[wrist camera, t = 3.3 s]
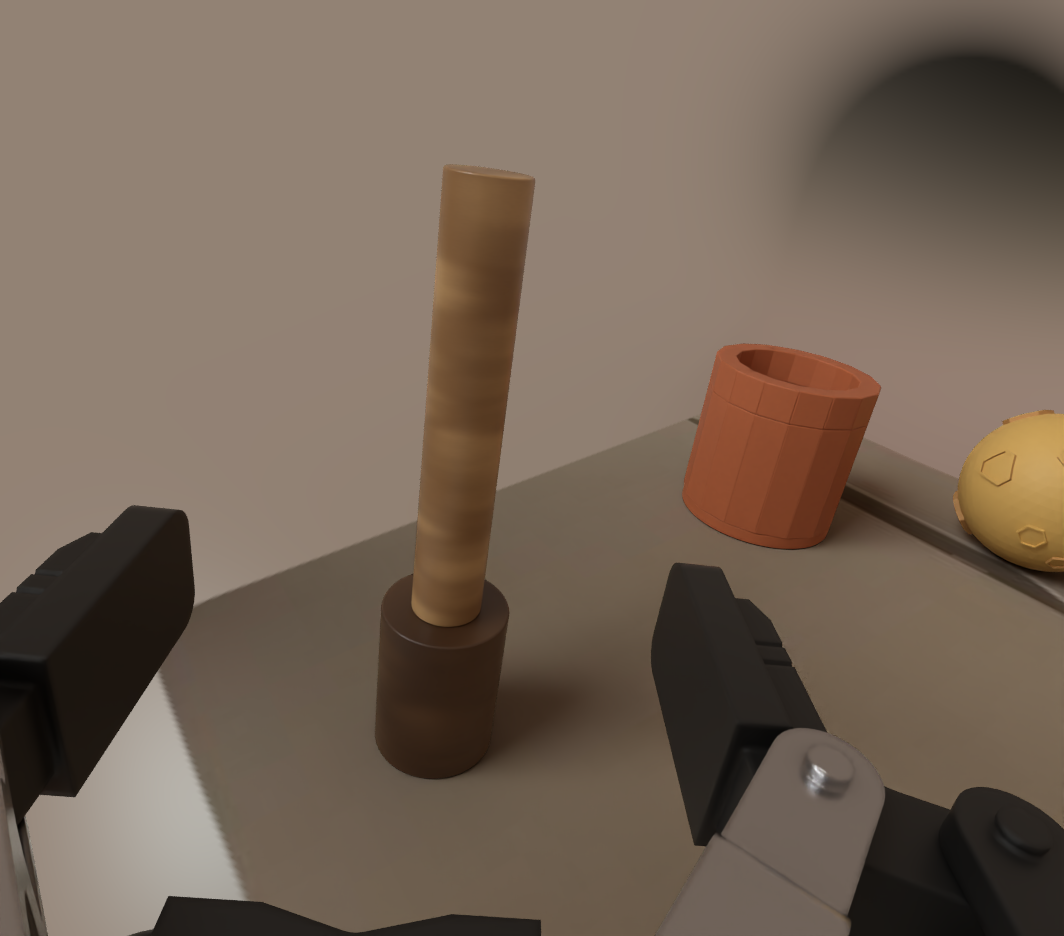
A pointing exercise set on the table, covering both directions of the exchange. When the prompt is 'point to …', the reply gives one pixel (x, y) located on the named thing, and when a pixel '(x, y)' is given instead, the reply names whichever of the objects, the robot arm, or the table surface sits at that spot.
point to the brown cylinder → (457, 489)
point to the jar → (776, 444)
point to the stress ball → (1017, 491)
